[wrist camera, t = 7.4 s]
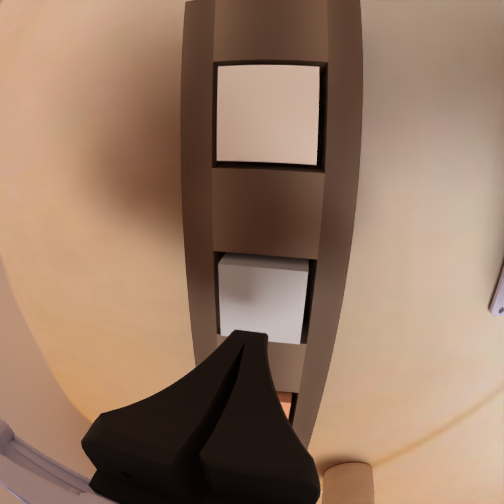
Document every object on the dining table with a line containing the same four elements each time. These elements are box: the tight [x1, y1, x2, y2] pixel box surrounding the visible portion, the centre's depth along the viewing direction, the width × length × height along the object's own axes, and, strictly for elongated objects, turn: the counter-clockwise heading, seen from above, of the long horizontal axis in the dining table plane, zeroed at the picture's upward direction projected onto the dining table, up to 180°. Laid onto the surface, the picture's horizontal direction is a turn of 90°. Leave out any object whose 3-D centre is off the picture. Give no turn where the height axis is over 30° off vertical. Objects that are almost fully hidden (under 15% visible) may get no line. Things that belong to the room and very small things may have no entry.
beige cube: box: [217, 65, 319, 165], centre depth 13 cm, size 4×4×4 cm
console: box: [181, 0, 363, 450], centre depth 17 cm, size 8×30×4 cm, turn 179°
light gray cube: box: [218, 252, 308, 344], centre depth 17 cm, size 4×4×4 cm
